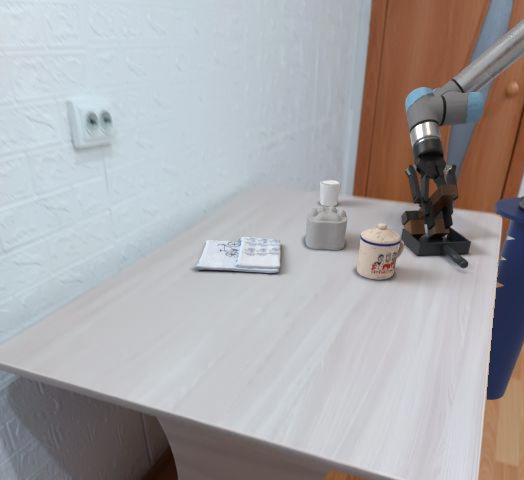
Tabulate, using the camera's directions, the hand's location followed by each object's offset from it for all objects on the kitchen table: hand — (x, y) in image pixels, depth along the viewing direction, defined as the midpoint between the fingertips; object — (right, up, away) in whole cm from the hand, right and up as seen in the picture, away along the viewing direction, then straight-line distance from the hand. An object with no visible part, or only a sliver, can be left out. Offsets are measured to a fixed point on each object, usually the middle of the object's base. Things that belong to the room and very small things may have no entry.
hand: (440, 226), depth 123 cm
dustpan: (+1, -7, 0) cm, 7 cm away
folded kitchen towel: (-51, -9, -4) cm, 52 cm away
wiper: (-2, +5, +10) cm, 11 cm away
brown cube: (-5, +1, +9) cm, 11 cm away
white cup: (-24, +17, +36) cm, 46 cm away
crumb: (+2, +1, +10) cm, 11 cm away
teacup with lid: (-18, -13, -9) cm, 24 cm away
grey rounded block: (-29, -2, +7) cm, 30 cm away
